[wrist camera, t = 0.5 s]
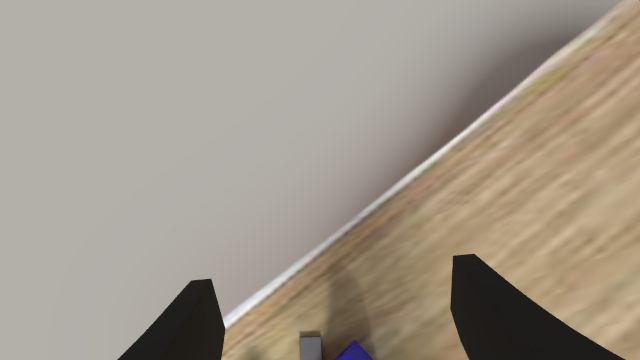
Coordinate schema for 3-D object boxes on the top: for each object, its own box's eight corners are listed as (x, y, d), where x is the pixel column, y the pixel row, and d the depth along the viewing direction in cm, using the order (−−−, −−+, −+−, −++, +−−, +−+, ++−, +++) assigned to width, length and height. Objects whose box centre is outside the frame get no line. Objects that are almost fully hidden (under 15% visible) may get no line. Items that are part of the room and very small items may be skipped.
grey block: (323, 370, 37) (322, 371, 37) (302, 371, 38) (301, 372, 37) (321, 336, 38) (320, 337, 38) (300, 337, 38) (299, 337, 38)
